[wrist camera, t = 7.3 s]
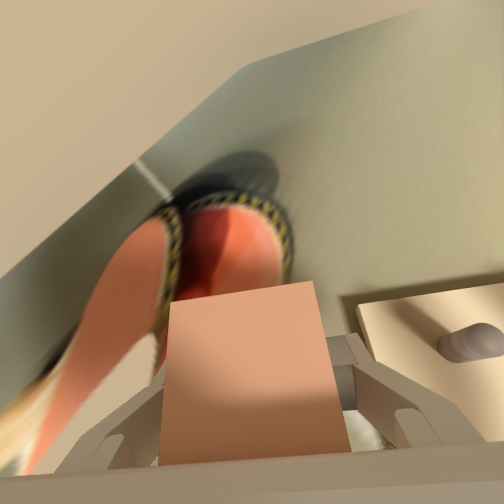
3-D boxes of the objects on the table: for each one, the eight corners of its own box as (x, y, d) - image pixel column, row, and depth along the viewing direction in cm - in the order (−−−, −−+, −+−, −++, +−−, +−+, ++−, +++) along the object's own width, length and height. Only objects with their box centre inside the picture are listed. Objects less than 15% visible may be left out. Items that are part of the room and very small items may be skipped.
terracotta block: (238, 434, 12) (156, 491, 6) (233, 342, 15) (170, 302, 8) (327, 426, 12) (357, 479, 5) (308, 332, 14) (312, 280, 7)
